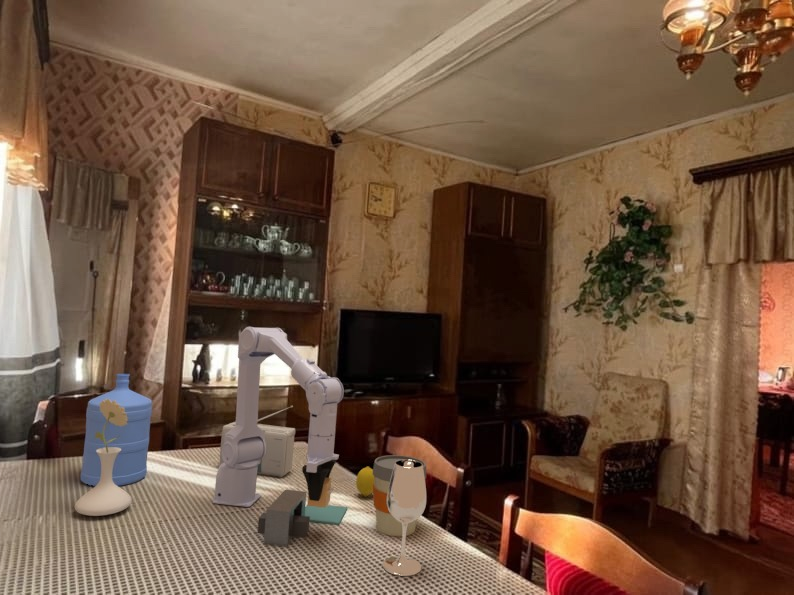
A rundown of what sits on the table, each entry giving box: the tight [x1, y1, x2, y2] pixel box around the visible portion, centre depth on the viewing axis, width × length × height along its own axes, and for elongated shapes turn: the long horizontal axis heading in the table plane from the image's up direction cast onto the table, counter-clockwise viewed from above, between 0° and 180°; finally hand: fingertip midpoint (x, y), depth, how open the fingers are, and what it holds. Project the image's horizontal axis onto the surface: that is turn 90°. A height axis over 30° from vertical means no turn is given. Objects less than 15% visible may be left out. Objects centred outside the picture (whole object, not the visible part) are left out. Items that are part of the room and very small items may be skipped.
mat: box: [305, 504, 348, 526], centre depth 122 cm, size 10×10×1 cm
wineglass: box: [382, 460, 427, 577], centre depth 99 cm, size 8×8×20 cm
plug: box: [306, 477, 335, 508], centre depth 111 cm, size 5×4×5 cm
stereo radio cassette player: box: [219, 405, 296, 478], centre depth 152 cm, size 21×8×20 cm, turn 77°
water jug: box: [80, 373, 153, 487], centre depth 137 cm, size 16×16×28 cm
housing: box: [263, 489, 307, 547], centre depth 111 cm, size 5×12×7 cm, turn 174°
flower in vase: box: [73, 399, 133, 517], centre depth 116 cm, size 13×11×25 cm
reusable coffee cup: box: [372, 454, 427, 537], centre depth 117 cm, size 13×13×15 cm
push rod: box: [257, 512, 311, 539], centre depth 111 cm, size 10×3×4 cm, turn 87°
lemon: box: [355, 466, 374, 498], centre depth 136 cm, size 6×6×8 cm
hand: (317, 496), depth 111 cm, fingers closed on plug, 4 cm apart
